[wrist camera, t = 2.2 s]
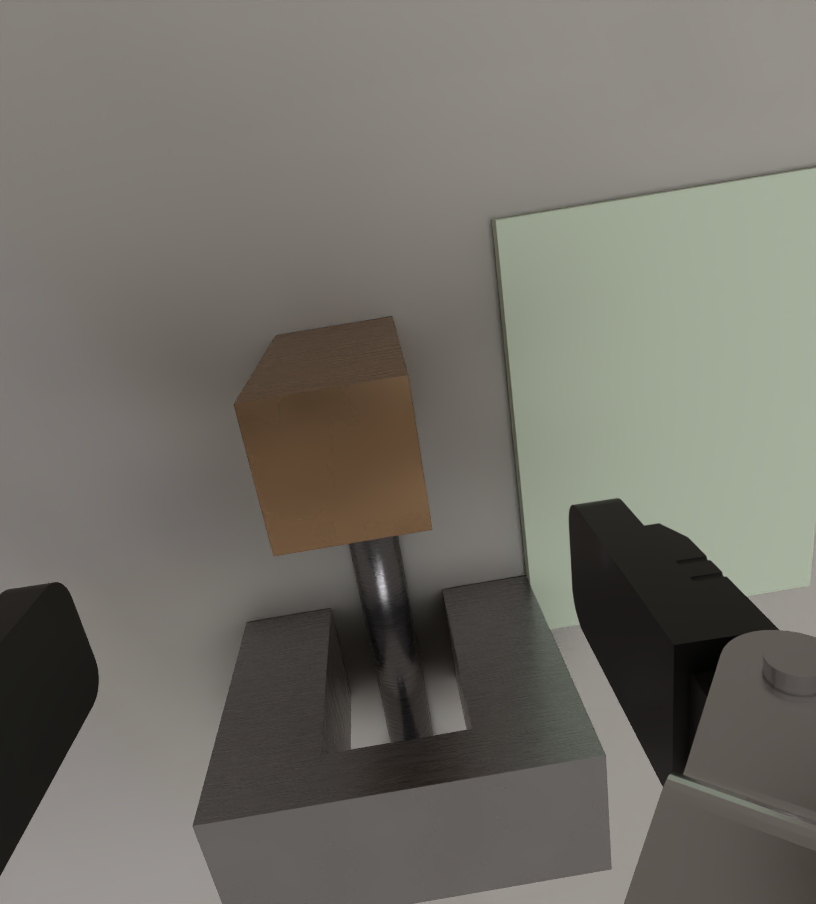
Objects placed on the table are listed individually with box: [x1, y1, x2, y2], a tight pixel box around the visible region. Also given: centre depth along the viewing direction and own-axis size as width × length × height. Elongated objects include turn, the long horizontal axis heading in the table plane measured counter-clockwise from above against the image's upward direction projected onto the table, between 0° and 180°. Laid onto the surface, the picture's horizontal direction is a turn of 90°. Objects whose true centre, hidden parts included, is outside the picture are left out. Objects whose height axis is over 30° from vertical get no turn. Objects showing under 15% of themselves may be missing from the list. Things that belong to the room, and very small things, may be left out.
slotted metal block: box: [193, 576, 611, 904], centre depth 20 cm, size 4×10×8 cm, turn 99°
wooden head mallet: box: [234, 316, 433, 743], centre depth 19 cm, size 17×4×7 cm, turn 9°
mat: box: [492, 167, 816, 630], centre depth 21 cm, size 14×10×1 cm
